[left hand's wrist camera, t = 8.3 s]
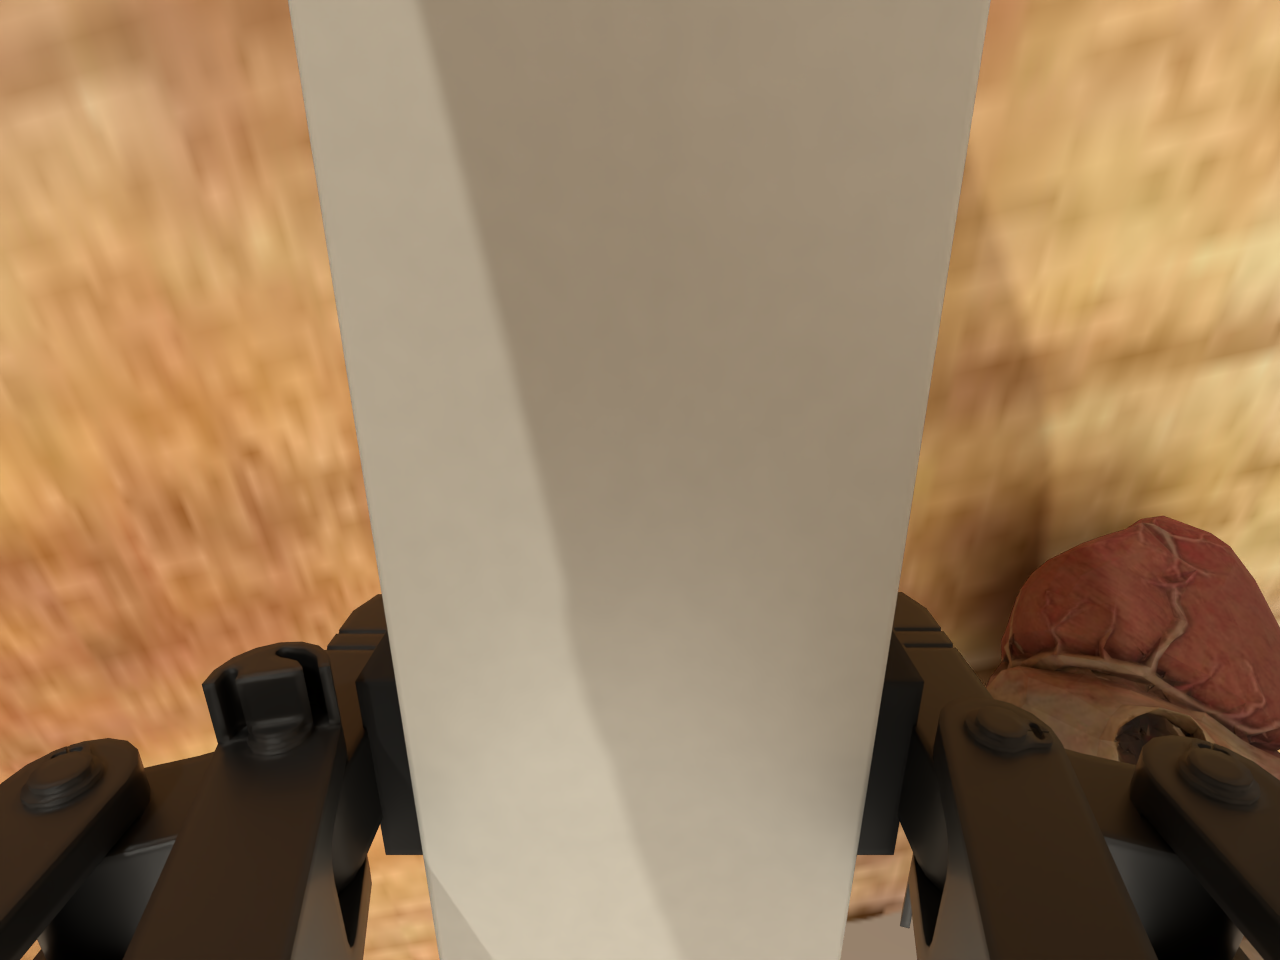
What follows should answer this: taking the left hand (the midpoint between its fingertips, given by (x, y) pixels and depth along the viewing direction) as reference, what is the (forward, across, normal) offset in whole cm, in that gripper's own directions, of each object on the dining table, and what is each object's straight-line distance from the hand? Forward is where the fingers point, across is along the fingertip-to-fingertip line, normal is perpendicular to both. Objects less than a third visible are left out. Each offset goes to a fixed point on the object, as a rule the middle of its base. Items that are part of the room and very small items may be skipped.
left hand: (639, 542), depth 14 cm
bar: (+1, 0, -10) cm, 10 cm away
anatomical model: (+9, -15, +10) cm, 20 cm away
